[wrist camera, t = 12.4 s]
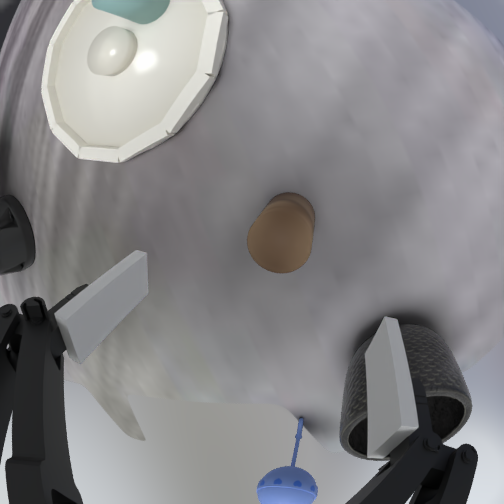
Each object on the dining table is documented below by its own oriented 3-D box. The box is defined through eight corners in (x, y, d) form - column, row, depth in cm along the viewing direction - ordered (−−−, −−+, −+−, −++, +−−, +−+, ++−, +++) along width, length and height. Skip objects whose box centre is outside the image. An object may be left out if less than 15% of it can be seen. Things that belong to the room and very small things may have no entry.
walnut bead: (261, 234, 30) (243, 264, 23) (269, 187, 27) (252, 206, 21) (308, 245, 29) (303, 279, 23) (320, 199, 27) (318, 221, 20)
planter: (402, 391, 34) (409, 465, 23) (322, 366, 35) (313, 449, 24) (463, 324, 28) (496, 401, 16) (380, 285, 29) (401, 374, 17)
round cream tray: (50, 152, 32) (35, 156, 29) (75, -8, 20) (61, -12, 18) (207, 170, 28) (195, 175, 25) (247, -47, 16) (239, -60, 14)
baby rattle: (275, 404, 41) (247, 503, 25) (329, 408, 39) (316, 511, 23) (276, 429, 44) (252, 515, 28) (324, 433, 42) (310, 522, 26)
